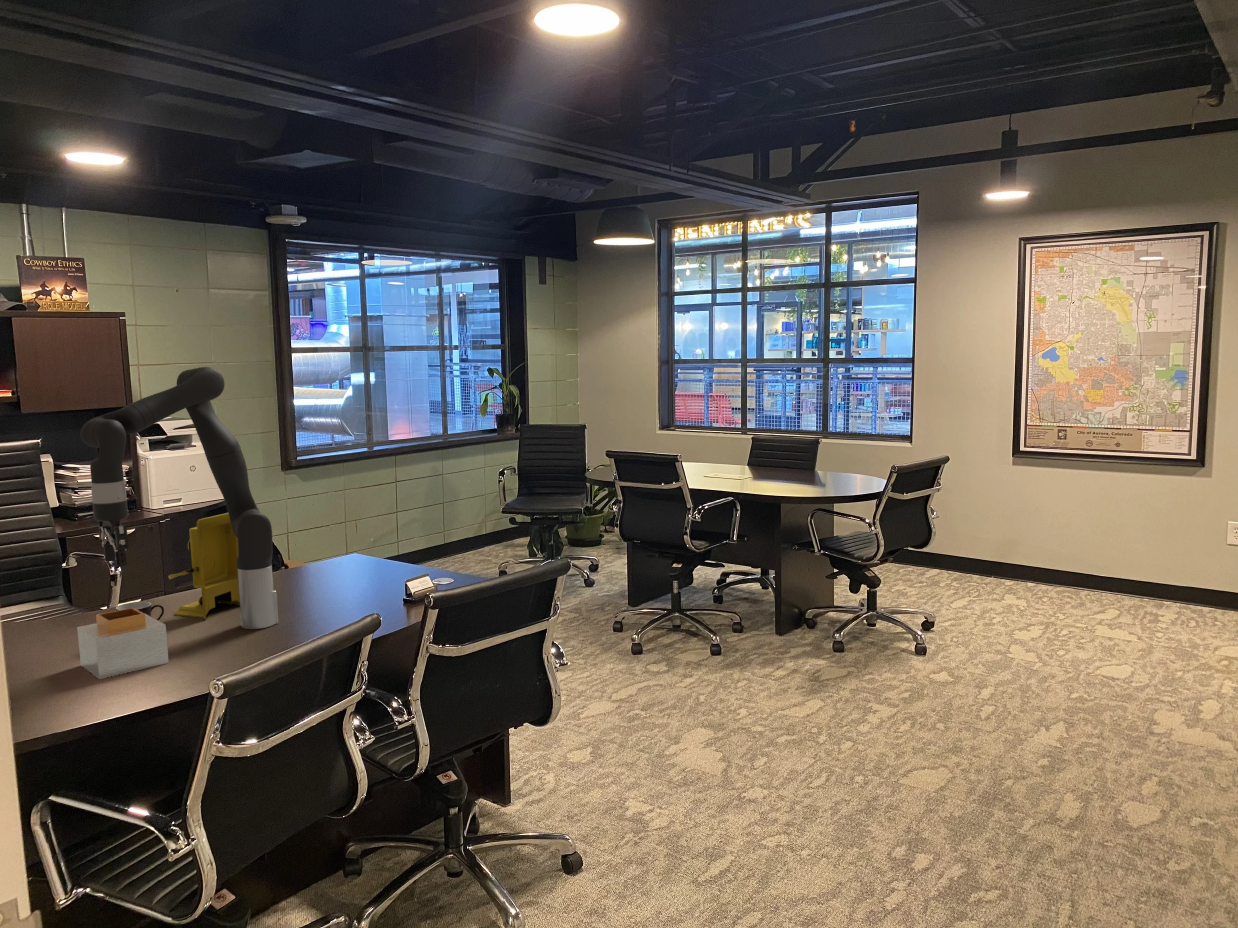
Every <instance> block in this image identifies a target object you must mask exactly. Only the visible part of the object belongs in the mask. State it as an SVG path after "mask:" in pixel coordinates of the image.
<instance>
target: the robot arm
mask: <svg viewBox="0 0 1238 928" xmlns="http://www.w3.org/2000/svg"><path fill="white" fill-rule="evenodd" d="M225 384H226V383H225V379H224V377H223V374H222V373H221V372H220V371H219V370H218V369H216V368H214V367H210V366H200V367H195V368H191V369H186V370H183V371H181V373H179V375H178V376H177V379H176V385H175V386H173V387H170V388H168V389H165V390H162V391H159V392H156V393H153V394H150V395H148V396H145V397H143V398H140V399H138V400H135V401H134V402H132V403H130V404H127V405H126V406H124V407H122V408H120V409H117V410H113V411H110V412H107V413H105V414H102V415H98V416H95V417H94V418H91V419H89V420H88V421H86V422H85V423H84V424H83V425H82V427H81V428H80V429H81V430H80V433H79V435H80V439H81V441H82V442H83V443H84V444H85V445H86V446H88V447H91V448H96V449H97V448H98V456H97V458H95V459H93V460H91V462H90V464H89V465H90V466H89V472H90V478H91V479H90V480H91V492H90V493H91V500H92V501H91V502H92V513H93V519H94V520H95V521H97V526H98V542H99V544H101V546H102V548H103V554H104V555H103V556H104V561H105V562H107V563H111V562H114V561H115V565H116V567H118V568H122V567H126V566H127V564H128V563H127V556H126V555H127V553H126V551H127V550H129V549H130V546H129V537H128V527H127V525H126V524H123V525H122V522H121V520H122V519H126V518H128V516H129V509H128V500H127V499H128V497H127V496H128V495H127V488H126V485H125V484H126V483H125V479H124V477H125V476H124V468H123V461H124V457H125V451H126V445H127V435H133V434H137V433H139V432H142V431H143V430H145V429H147V428H149V427H151V426H153V425H155V424H157V423H159V422H160V421H163V420H164V419H166V418H168V417H171V416H172V415H175V414H176V413H178V412H181V411H182V410H184V409H186V411H187V413H188V415H189V417H190V419H191V422H192V424H193V426H194V428H195V432H196V435H197V436H198V438H199V441H200V443H201V446H202V449H203V452H204V455H205V457H206V461H207V463H208V465H209V468H210V471H211V473H212V475H213V477H214V480H215V482H216V485H217V487H218V489H219V491H220V493H221V495H222V497H223V499H224V503H225V506H226V510H227V513H228V514H229V518H230V522H231V526H232V530H233V532H234V534H235V535H236V537H237V538H238V548H239V555H238V558H237V572H238V586H239V601H240V605H239V612H240V613H239V615H240V625H241V628H242V629H244V630H246V629H247V630H257V629H265V628H268V627H269V628H270V627H272V626H274V625H276V624H279V611H278V598H277V597H278V595H277V590H274V581H273V565H272V560H273V559H272V558H273V554H274V552H273V551H274V547H273V528H272V523H271V521H270V519H269V518H268V517H267V516H266V515H265V514H264V513H261V511H260V509H259V508H258V506H257V504H256V502H255V499H254V498H253V495H252V492H251V487H250V482H249V474H248V468H247V467H248V466H247V461H246V459H245V455H244V453H243V451H242V448H241V445H240V443H239V441H238V440H237V438H236V437H235V435H234V434H233V433H232V432H231V431H230V429H229V428H227V427H226V426H225V424H224V423H223V422H222V421H221V420H220V418H219V416H217V414H216V412H215V411H216V410H215V409H214V407H213V404H212V402H211V401H212V400H214V399H217V398H218V397H220V396H221V395H222V393H223V392H224V389H225Z"/></svg>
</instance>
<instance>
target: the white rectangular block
mask: <svg viewBox="0 0 1238 928" xmlns="http://www.w3.org/2000/svg"><path fill="white" fill-rule="evenodd" d="M95 619H96V620H95V621H96V623H92V624H87V625H80V626H77V627H76V628H77V639H78V641H77V642H78V651H79V660H80V662H79V663H80V666H81V667H82V668H83V667H84V669H85V670H86V671H88V673H90V672H91V673H92V674H91V673H90V674H91V675H92V676H94V677H95V676H96V677H95V678H97V679H98V680H103V679H107V677H108V678H111V676H112V677H115V675H116V676H120V675H124V674H127V672H129V673H132V671H133V672H136V671H141V670H145V669H150V668H154V667H156V666H161V665H166V664H169V652H168V639H167V638H168V637H167V636H168V635H167V626H166V624H165V623H163V622H162V621H160V620H159V621H158V620H157V618H154V617H152V616H151V617H150V616H149V615H147V614H144V613H142V612H140V611H139V610H137V609H135V608H128V609H123V610H118V611H116V610H114V611H109V612H103V613H98V614H96V615H95ZM123 673H124V674H123ZM119 674H120V675H119Z"/></svg>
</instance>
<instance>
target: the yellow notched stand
mask: <svg viewBox="0 0 1238 928" xmlns="http://www.w3.org/2000/svg"><path fill="white" fill-rule="evenodd" d="M188 531H189V540H188V542H187V549H188V550H187V551H188V552H189V554H190V555H191V557H190V558H191V568H190V569H187V570H183V571H181V572H178V573H173V574H172V573H171V574H169V575H168V580H172V579H174V578H177V577H179V576H180V577H181V576H185V575H189V574H190V573H192V583H193V585H192V586H193V588H194V589H195V588H196V589H201V597H200V598H199V600H196V601H194V602H192V603H191V602H190V603H188V604H185V605H181V606H180V607H179V608H178V610H176V611H175V612H174V613H173V615H174V616H181V617H189V618H198V619H203V621H205V620H206V621H207V614H208V613H209V611H210V610H212V609H214V608H216V604H222V603H228V604H227V605H232V604H234V606H240V601H239V586H238V572H237V558H238V555H239V548H238V538H237V537H236V535H235V534H234V532H233V530H232V526H231V522H230V518H229V514H228V512H225V513H221V514H217V515H213V516H209V517H208V516H207V517H203V518H200V519H198V520H197V521H196V526H195V527H191V528H189V530H188ZM216 602H218V603H216ZM219 602H220V603H219ZM235 604H236V605H235Z"/></svg>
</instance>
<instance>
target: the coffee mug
mask: <svg viewBox="0 0 1238 928" xmlns="http://www.w3.org/2000/svg"><path fill="white" fill-rule="evenodd" d="M128 608H135V609H137V610H139V611H140V612H142V613H144V614H147V615H149V616H150V617H152V611H153V610H154V609H155V608H160V610H161V613H160V615H159V616H158V617H157V618H156V620H158V621H160V620H161V618H162V617H163V615H164V613H165V608H164V607H163V606H162V605H160V604H154V605H153V606H152V602H149V601H133V602H132V601H131V602H127V603H123V604H119V605H118V606H115V611H118V610H123V609H128Z"/></svg>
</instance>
